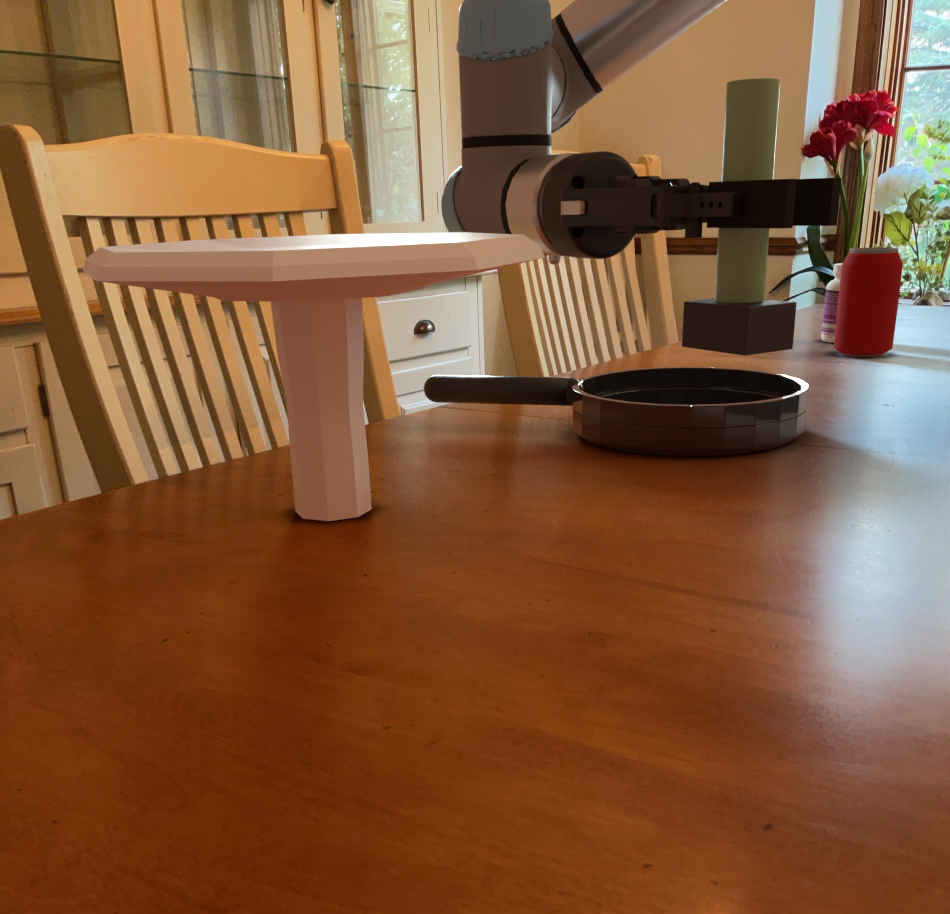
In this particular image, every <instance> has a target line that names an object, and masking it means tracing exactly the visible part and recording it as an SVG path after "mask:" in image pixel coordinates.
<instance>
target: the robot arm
mask: <svg viewBox="0 0 950 914" xmlns="http://www.w3.org/2000/svg"><path fill="white" fill-rule="evenodd" d="M727 1H728V0H573V1H572V2H571V3H570V4H568V6H566V7H565V8H564V9H562V10H561V11H560V12H559V13H558V14H557V15H556V16H554V17H553V18H552V9H551V3H550V0H463V1H462V2H461V3H460V6H459V8H458V29H457V30H458V33H457V35H458V36H457V43H456V48H455V49H456V51H457V54H458V67H459V68H458V74H459V75H458V76H459V98H460V99H459V100H460V101H459V103H460V127H461V129H460V130H461V149H460V156H461V165H460V166H459V167H458V168H456V169H455V170H454V171H453V172H452V173H451V174H450V176H449V177H448V179H447V182H446V184H445V186H444V189H443V192H442V195H441V201H440V209H441V216H442V220H443V223H444V226H445V228H446V230H447V232H472V233H495V234H518V235H525V236H526V237H528V238H529V239H531V240H532V241H533V242H535V243H536V244H538V245H539V246H540V247H541V249H542V252H543V254H544V257H545V256H546V257H547V256H548V258H547V260H548V263H549V264H550V265H552V266H555V265H558V264H560V261H561V259H562V258H561V257H563V258H564V257H565V258H574V259H591V260H604V259H609V258H613V257H614V256H616V255H618V254H619V253H621V252H623V251H624V250H625V249H626V248H627V247H628V246H629V245H630V243H631V242H632V241H633V239H634V238H635V236H636V235H650V234H652V235H653V234H657V233H658V232H660V231H683V230H684V239H702V238H703V225H704V224H706V229H719V228H770V229H793V227H834V226H838V219H839V211H840V209H839V208H840V201H841V200H840V197H841V191H842V180H843V178H842V177H821V178H820V177H819V178H817V177H816V178H777V179H776V178H775V179H774V178H773V180H748V181H723V182H721V181H709V182H708V184H702V183H700V182H699V181H698V182H697V181H696V182H694V181H693V182H690V181H689V179H688V178H683V177H681V178H661V176H659V175H638V174H637V172H636V170H635V169H634V168H633V165H632V164H631V163H630V162H629V161H628V160H627V159H626V158H625V157H623V156H622V155H620V154H618V153H615V152H612V151H607V150H604V151H603V150H601V151H589V152H578V153H574V152H567V153H566V152H565V153H556V154H555V153H554V154H552V134H554V133H556V132H557V131H560V130H561V129H563V128H564V127H565V126H567V125H568V124H569V123H570V122H571V121H572V119H573V118H574V116H575V115H576V113H577V112H578V110H580V109H581V108H583V107H584V106H586V104H589V102H591V101H592V100H594V99H595V98H596V97H597V96H598V95H600V94H601V93H602V92H604V90H606V89H607V88H609V87H610V86H611V85H612V84H614V83H615V82H617V81H618V80H619V79H621V78H622V77H624V76H625V75H626V74H628V73H629V72H630V71H632V70H633V69H634V68H636V67H638V66H639V65H640V64H641V63H643V62H644V61H646V60H647V59H648V58H650V57H651V56H653V55H654V54H655V53H657V52H658V51H659V50H661V49H662V48H663V47H665V46H666V45H668V44H669V43H670V42H672V41H674V40H675V39H676V38H677V37H678V36H680V35H681V34H683V33H685V32H686V31H687V30H689V29H690V28H691V27H692V26H694V25H695V24H697V23H698V22H699V21H701V20H702V19H703V18H705V17H706V16H708V15H709V14H711V13H712V12H714V10H715V9H717V8H719V7H720V6H721V5H723V4H724V3H725V2H727Z"/></svg>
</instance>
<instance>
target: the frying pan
mask: <svg viewBox="0 0 950 914" xmlns="http://www.w3.org/2000/svg"><path fill="white" fill-rule="evenodd" d="M577 380H578V381H580V382H579V383H575V384H572V385H571V406H570V426H571V429H572V431H573V432H574V433H576V434H578V435H579V436H581V438H582V439H584V440H585V441H586V442H587V443H590V444H593V445H595V446H598V447H602V448H606V449H609V450H614V451H620V452H625V453H632V454H641V455H651V456H665V457H721V456H722V457H723V456H733V455H744V454H752V453H758V452H762V451H768V450H771V449H776V448H779V447H782V446H784V445H787V444H788V443H791V441H793V440H794V439H796V438H797V437H799V436H801V435H802V434H804V433H805V430H806V419H807V408H808V397H809V383H807V382H806V381H804V380H802V379H800V378H797V377H794V376H791V375H787V374H783V373H777V372H772V371H771V372H770V371H764V370H757V369H756V370H754V369H747V368H737V367H735V368H734V367H733V368H732V367H717V366H716V367H715V366H661V367H659V366H658V367H643V368H632V369H631V368H629V369H622V370H621V369H620V370H614V371H606V372H601V373H596V374H591V375H588V376H585V377H582V378H579V379H577ZM581 384H582V386H583V391H581V390H580V385H581Z"/></svg>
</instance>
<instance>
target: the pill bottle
mask: <svg viewBox="0 0 950 914" xmlns="http://www.w3.org/2000/svg"><path fill="white" fill-rule="evenodd" d="M842 263H843V262H841V263H835V264H833V271H832V275H833V276H834V279H832V280H830V281H829V282H828V283H827V284H826V287H825V294H824V304H823V314H822V322H821V335H820V339H821V341H823V342H825V343H830V344H834V339H835V328H836V317H837V307H838V297H839V287H840V278H841V269H842Z"/></svg>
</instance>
